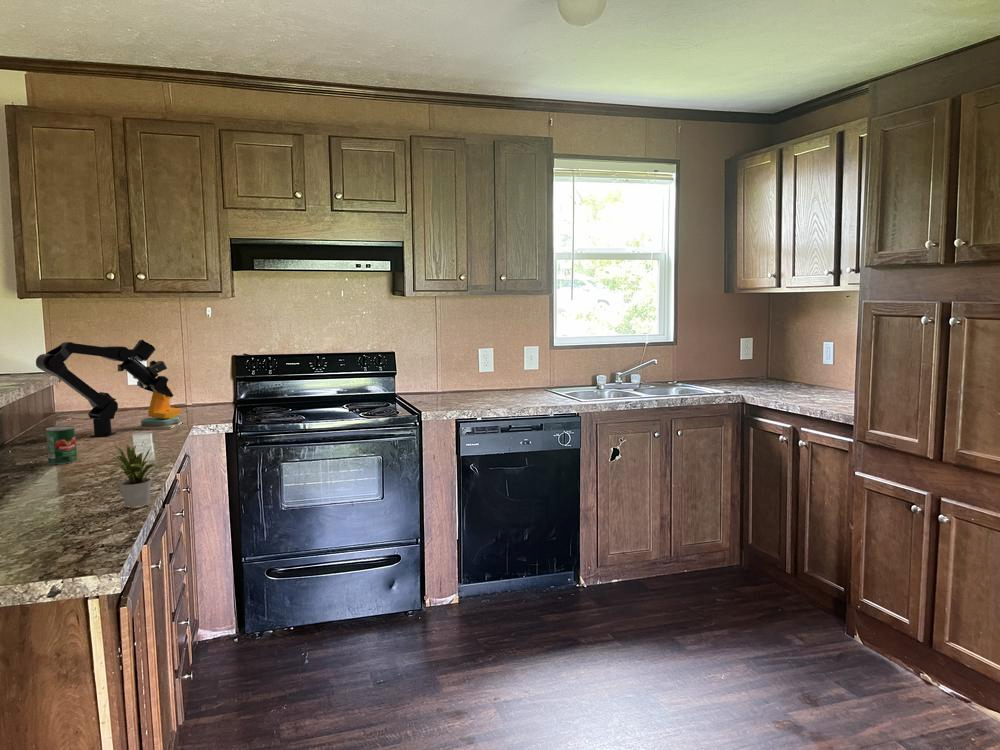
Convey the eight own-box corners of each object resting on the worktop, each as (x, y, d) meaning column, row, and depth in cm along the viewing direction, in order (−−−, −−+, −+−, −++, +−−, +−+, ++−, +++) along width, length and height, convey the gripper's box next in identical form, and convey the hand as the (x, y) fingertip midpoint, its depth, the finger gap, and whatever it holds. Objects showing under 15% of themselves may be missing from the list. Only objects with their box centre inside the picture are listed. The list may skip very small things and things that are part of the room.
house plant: (85, 511, 181) (80, 444, 179) (132, 496, 194) (127, 434, 192) (130, 516, 176) (125, 448, 174) (175, 500, 189) (171, 437, 187)
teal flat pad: (170, 429, 291) (170, 421, 291) (134, 429, 291) (134, 422, 291) (185, 422, 305) (185, 415, 304) (151, 423, 305) (150, 416, 304)
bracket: (164, 420, 293) (164, 390, 291) (148, 418, 295) (148, 388, 293) (181, 415, 304) (182, 386, 302) (165, 413, 305) (166, 384, 303)
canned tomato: (58, 459, 240) (55, 425, 239) (82, 459, 240) (79, 425, 239) (42, 465, 232) (39, 430, 231) (67, 464, 232) (64, 429, 231)
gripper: (161, 355, 287) (191, 381, 296) (143, 353, 300) (173, 378, 309) (141, 378, 282) (172, 403, 291) (123, 374, 296) (154, 399, 305)
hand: (168, 395), depth 299 cm, fingers open, 7 cm apart
